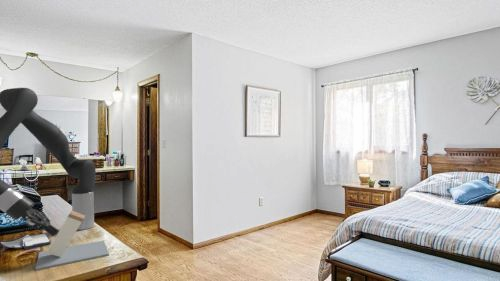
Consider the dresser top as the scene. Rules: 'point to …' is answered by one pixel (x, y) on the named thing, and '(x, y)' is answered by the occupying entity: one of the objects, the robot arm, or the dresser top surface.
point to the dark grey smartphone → (37, 241)
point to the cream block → (66, 234)
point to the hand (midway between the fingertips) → (56, 233)
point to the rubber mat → (72, 255)
